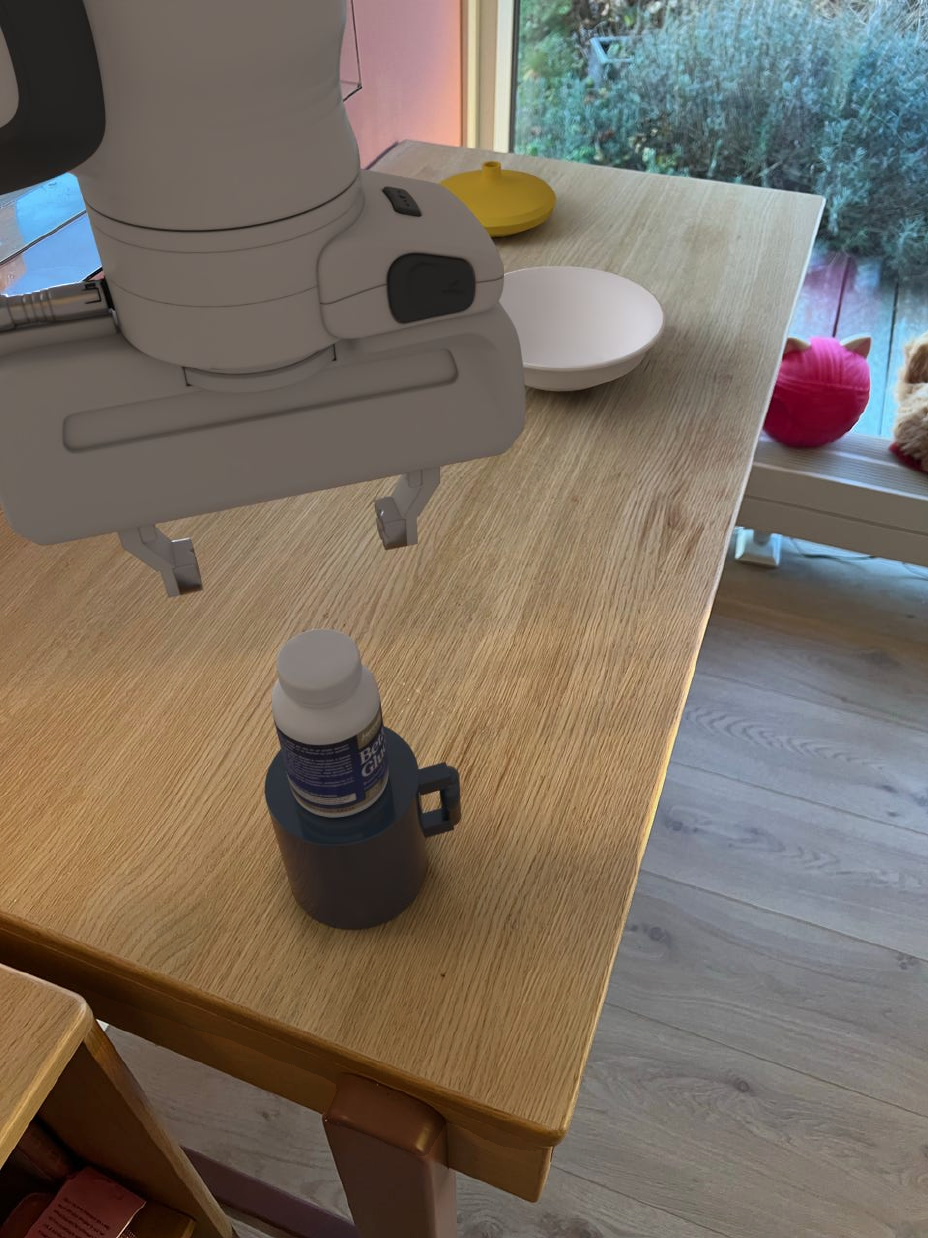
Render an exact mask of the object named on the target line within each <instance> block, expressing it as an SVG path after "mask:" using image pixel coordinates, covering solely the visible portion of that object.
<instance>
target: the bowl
mask: <svg viewBox="0 0 928 1238" xmlns="http://www.w3.org/2000/svg"><path fill="white" fill-rule="evenodd" d="M499 302H500V304H501V305H502V307H503V308H504V310H505V311H506V313H507V314H508V316H509V317H510V319H511V320H512V322H513V324H514V326H515V328H516V330H517V333H518V337H519V341H520V346H521V353H522V361H523V369H524V381H525V387H529V388H532V389H536V390H542V391H550V392H573V391H580V390H581V391H582V390H586V389H589V388H593V387H596V386H599V385H602V384H605V383H608V382H612V381H614V380H616V379H618V378H621V377H623V376H625V375H627V374H628V373H630V372H632V370H635V369H636V367H638V366H639V365H640V363H641V362H642V361H643V360H644V358H645V356H646V354H647V352H648V350H650V349H651V348H652V347H654V345H656V343H657V342H658V341H659V340H660V339H661V338H662V337H663V334H664V331H665V330H666V327H667V314H666V311H665V309H664V306H663V303H662V302H661V301H660V300H659V298H658V297H657V296H656V295H655V294H654V293H653V292H652V291H651V290H650V289H648V288H647V287H645V286H644V285H643V284H640V283H639V282H637V281H636V280H633V279H631V278H628V277H626V276H623V275H620V274H617V273H614V272H610V271H606V270H603V269H600V268H599V269H598V268H592V267H584V266H575V265H574V266H573V265H544V266H536V267H534V266H533V267H529V268H521V269H518V270H513V271H510V272H506V273H505V272H504V285H503V292H502V295H501V298H500V299H499Z"/></svg>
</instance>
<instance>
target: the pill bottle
mask: <svg viewBox="0 0 928 1238" xmlns="http://www.w3.org/2000/svg"><path fill="white" fill-rule="evenodd" d="M281 646H282V647H281V648H280V650H278V654H277V656H276V662H275V663H276V671H277V677H278V679H277V680H276V682H275V684H274V687H273V689H272V692H271V698H270V699H271V700H270V705H271V706H270V707H271V713H272V717H273V722H274V723H273V724H274V727H275V730H276V735H277V738H278V743H279V747H280V749H281V751H282V755H283V759H284V763H285V768H286V772H287V776H288V780H289V784H290V787H291V790H292V792H293V795H294V797H295V798H296V800H297V801H298V802H299V803H300V805H302V806H303V807H304V808H305V809H307V810H308V811H310V812H312V813H314V814H316V815H319V816H324V817H331V818H333V817H345V816H349V815H353V814H356V813H358V812H360V811H362V810H364V809H366V808H368V807H369V806H371V805H372V804H373V803H374V802H375V801H376V800H377V799H378V798H379V797H380V795H381V794H382V792H383V791H384V789H385V786H386V784H387V780H388V773H389V770H388V757H387V749H386V742H385V733H384V726H385V725H384V718H383V710H382V703H381V702H382V701H381V695H380V690H379V686H378V682H377V679H376V678H375V676H374V674H373V673H372V671H371V670H370V669H369V668H368V666H366V665H365V664H363V662H362V659H361V653H360V652H361V651H360V649H359V647H358V645H357V643H356V641H355V640H354V639H353V638H352V637H350V636H349V635H348V634H347V633H345V632H343V631H340V630H337V629H332V628H314V629H309V630H304V631H302V632H300V633H297V634H296V635H294V636H292V637H291V638H290V639H288V640H287V641H286V642H285V643H284V644H283V645H281Z"/></svg>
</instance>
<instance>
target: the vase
mask: <svg viewBox="0 0 928 1238" xmlns="http://www.w3.org/2000/svg"><path fill="white" fill-rule="evenodd" d="M481 168H482V169H477V170H470V171H464V172H462V173H457V174H455V175H452V176H449V177H447V178H445V179H443V180H441V181H440V182H439V183H438V184H439V185H442V186H444V187H446V188H447V189H449V190H450V191H451V192H452V193H453V194H454V195H455V196H457V197H458V198H459V199H460V200H461V201H462V202H463V203H464V204H465V205H466V206H467V207H468V208H469V209H470V211H471V212H472V213H473V214H474V215H475V216H476V218H477V219H478V220H479V221H480V223H481V224H482V225H483V227H484V228H485V230H486V231H487V233H488V234H489V236H490V237H491V238H498V237H499V238H500V237H501V238H502V237H506V236H512V235H516V234H520V233H523V232H525V231H527V230H531V229H532V228H535V227H538V226H539V225H541V224H543V223H545V222H546V221H547V220H548V219H549V218H550V217H551V216H552V214H553V211H554V209H555V206H556V202H557V196H556V193H555V191H554V189H553V188H552V187H551V186H550V185H549V184H548V183H547V182H546V181H545V180H544V179H542V178H540V177H538V176H536V175H535V174H530V173H528V172H524V171H519V170H513V169H502V164H501V162H499V161H496V160H489V161H484V162H483V163H482V164H481Z"/></svg>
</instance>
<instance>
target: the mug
mask: <svg viewBox="0 0 928 1238" xmlns="http://www.w3.org/2000/svg"><path fill="white" fill-rule="evenodd" d="M384 733H385V742H386V749H387V757H388V770H389V773H388V780H387V784H386V786H385V789H384V791H383V792H382V794H381V795H380V797H379V798H378V799H377V800H376V801H375V802H374V803H373V804H372V805H371V806H369V807H368V808H366V809H364V810H362V811H360V812H358V813H356V814H353V815H349V816H345V817H333V818H331V817H324V816H319V815H316V814H314V813H312V812H310V811H308V810H307V809H305V808H304V807H303V806H302V805H300V803H299V802H298V801H297V800H296V798H295V797H294V795H293V792H292V790H291V787H290V784H289V780H288V776H287V772H286V768H285V763H284V759H283V755H282V751H281V748H280V749H279V750H278V751H277V753H276V754H275V756H274V757H273V759H272V761H271V763H270V764H269V766H268V769H267V772H266V774H265V775H266V776H265V780H264V799H265V803H266V806H267V810H268V814H269V816H270V820H271V824H272V827H273V830H274V834H275V837H276V841H277V844H278V849H279V852H280V855H281V857H282V862H283V866H284V869H285V872H286V875H287V876H286V877H287V879H288V883H289V886H290V889H291V892H292V895H293V897H294V899H295V902H296V903H297V904H298V906H299V907H300V909H302V910H303V911H304V912H305V914H307V915H308V916H309V917H311V918H312V920H315V921H317V922H319V923H320V924H322V925H325V926H327V927H331V928H333V929H339V930H345V931H347V930H348V931H358V930H366V929H370V928H375V927H379V926H380V925H383V924H385V923H387V922H390V921H392V920H394V919H395V918H397V917H398V916H399V915H401V914H402V913H403V912H404V911H405V910H407V909H408V908H409V907H410V905H411V904H412V903H413V902H414V901H415V900H416V898H417V897H418V896H419V894H420V892H421V891H422V890H421V889H422V888H423V886H424V884H425V881H426V878H427V874H428V873H427V872H428V854H427V853H428V852H427V843H426V841H427V840H426V839H427V838H431V837H434V836H438V835H441V834H446V833H449V832H452V831H454V830H455V826H457V825H458V824H459V823H460V822H461V821H462V801H461V800H462V799H461V782H460V772H459V771H458V769H457V768H456V767H454V766H452V765H448V764H447V762H446V761H443V762H439V763H435V764H432V765H427V766H425V767H422V768H419V764H418V760H417V757H416V754H415V753H414V751H413V750H412V748H411V746H410V745H409V744H408V742H407V741H406V740H405V739H404V738H403V737H402V736H400V734H399V733H397V732H395V731H394V730H393V729H391V728H389V727H387V726H385V725H384ZM436 792H439V803H440V804H439V805H440V807H439V808H435V809H433V810H429V811H426V812H425V811H423V801H422V796H425V795H429V794H433V793H436Z"/></svg>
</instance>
